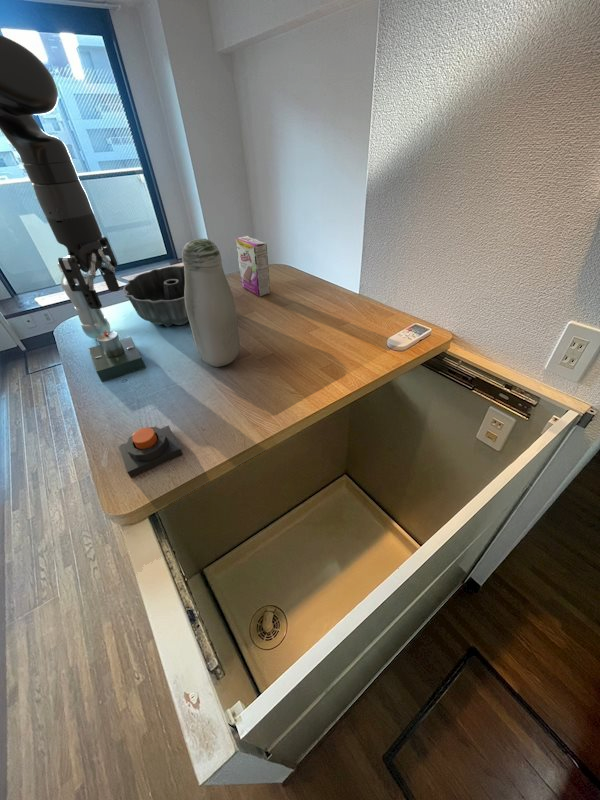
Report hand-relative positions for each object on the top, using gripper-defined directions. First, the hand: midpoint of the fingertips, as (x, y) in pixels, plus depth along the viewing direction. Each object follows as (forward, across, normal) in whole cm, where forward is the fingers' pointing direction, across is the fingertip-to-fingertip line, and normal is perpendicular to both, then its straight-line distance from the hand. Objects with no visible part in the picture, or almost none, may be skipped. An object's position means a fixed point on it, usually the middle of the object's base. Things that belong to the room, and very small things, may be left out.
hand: (106, 299), depth 68 cm
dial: (+14, -2, -4) cm, 15 cm away
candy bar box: (+18, -45, +25) cm, 54 cm away
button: (+14, +27, +14) cm, 34 cm away
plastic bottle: (+18, -15, -16) cm, 28 cm away
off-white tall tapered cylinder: (+18, -2, +21) cm, 28 cm away
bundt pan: (+18, -28, +3) cm, 34 cm away
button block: (+17, +27, +14) cm, 35 cm away
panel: (+17, -2, -4) cm, 18 cm away
